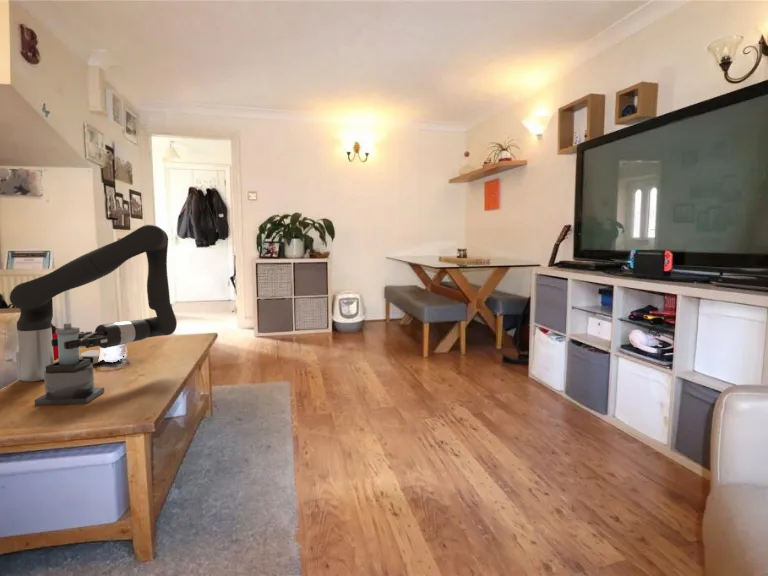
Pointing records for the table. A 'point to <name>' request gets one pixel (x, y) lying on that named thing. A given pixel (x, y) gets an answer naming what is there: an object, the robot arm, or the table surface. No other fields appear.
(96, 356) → the robot toy
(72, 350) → the grey lidded canister
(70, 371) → the dark grey holder
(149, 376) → the table surface
